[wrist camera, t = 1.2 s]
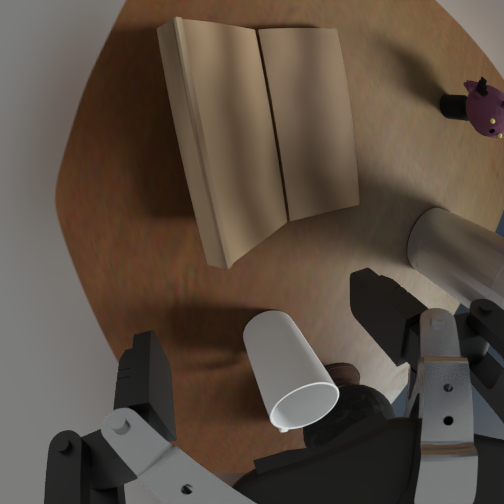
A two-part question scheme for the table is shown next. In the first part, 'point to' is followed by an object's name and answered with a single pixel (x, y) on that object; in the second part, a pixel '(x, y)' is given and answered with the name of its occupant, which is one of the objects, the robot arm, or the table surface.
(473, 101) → the figurine
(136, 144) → the table surface
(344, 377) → the black sphere on base
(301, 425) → the mug
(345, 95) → the fixed plank
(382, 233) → the table surface
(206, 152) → the board
